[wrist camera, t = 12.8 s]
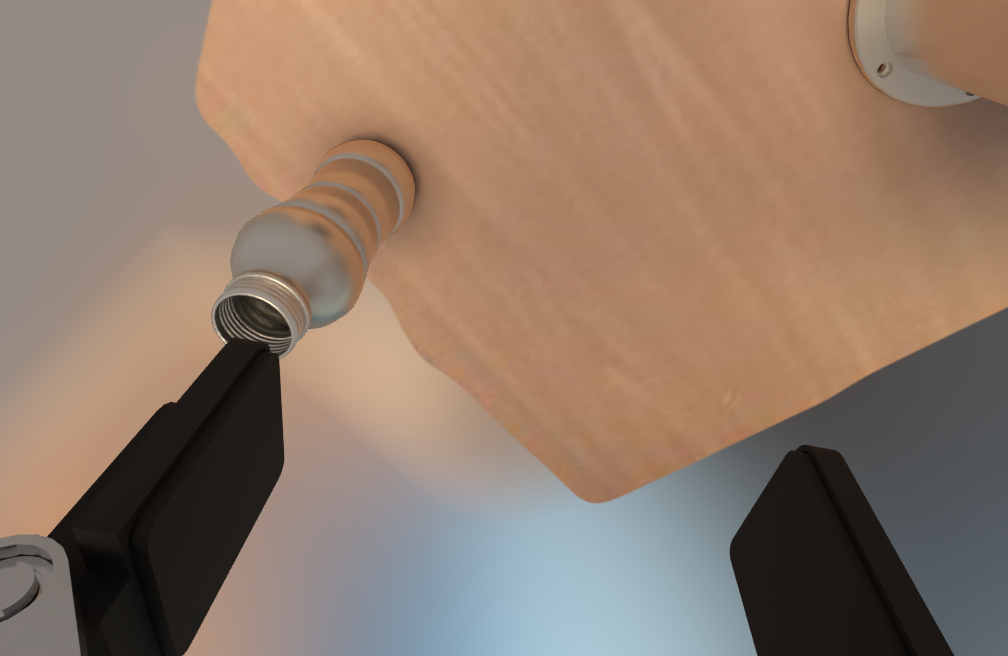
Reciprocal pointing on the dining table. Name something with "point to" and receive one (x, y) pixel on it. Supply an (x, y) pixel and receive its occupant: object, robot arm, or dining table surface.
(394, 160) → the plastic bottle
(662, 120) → the dining table surface
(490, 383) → the dining table surface
